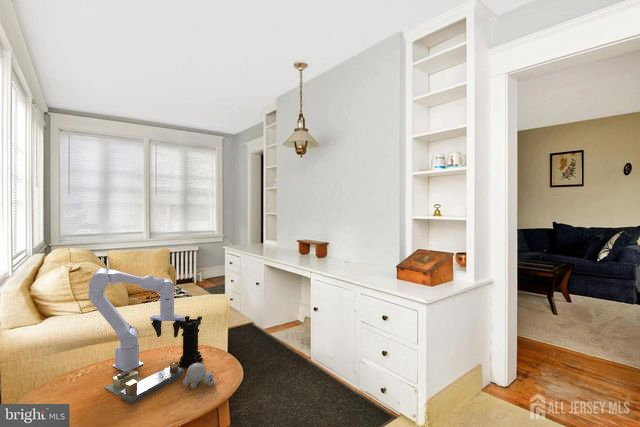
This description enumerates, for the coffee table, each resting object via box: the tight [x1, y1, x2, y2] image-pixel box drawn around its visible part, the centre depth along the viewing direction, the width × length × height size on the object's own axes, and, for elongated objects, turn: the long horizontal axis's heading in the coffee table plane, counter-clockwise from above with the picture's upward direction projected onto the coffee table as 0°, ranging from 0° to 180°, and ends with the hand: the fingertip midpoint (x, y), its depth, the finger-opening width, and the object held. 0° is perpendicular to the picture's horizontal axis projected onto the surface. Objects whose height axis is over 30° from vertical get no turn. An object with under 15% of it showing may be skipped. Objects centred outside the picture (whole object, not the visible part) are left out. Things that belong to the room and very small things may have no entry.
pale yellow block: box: [112, 369, 139, 390], centre depth 128 cm, size 7×4×4 cm, turn 152°
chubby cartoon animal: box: [182, 362, 217, 390], centre depth 129 cm, size 7×12×8 cm, turn 89°
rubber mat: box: [103, 376, 145, 397], centre depth 129 cm, size 9×11×1 cm
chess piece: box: [178, 315, 204, 369], centre depth 145 cm, size 8×8×20 cm
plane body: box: [119, 361, 185, 405], centre depth 128 cm, size 22×7×6 cm, turn 152°
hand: (167, 336), depth 149 cm, fingers open, 7 cm apart
